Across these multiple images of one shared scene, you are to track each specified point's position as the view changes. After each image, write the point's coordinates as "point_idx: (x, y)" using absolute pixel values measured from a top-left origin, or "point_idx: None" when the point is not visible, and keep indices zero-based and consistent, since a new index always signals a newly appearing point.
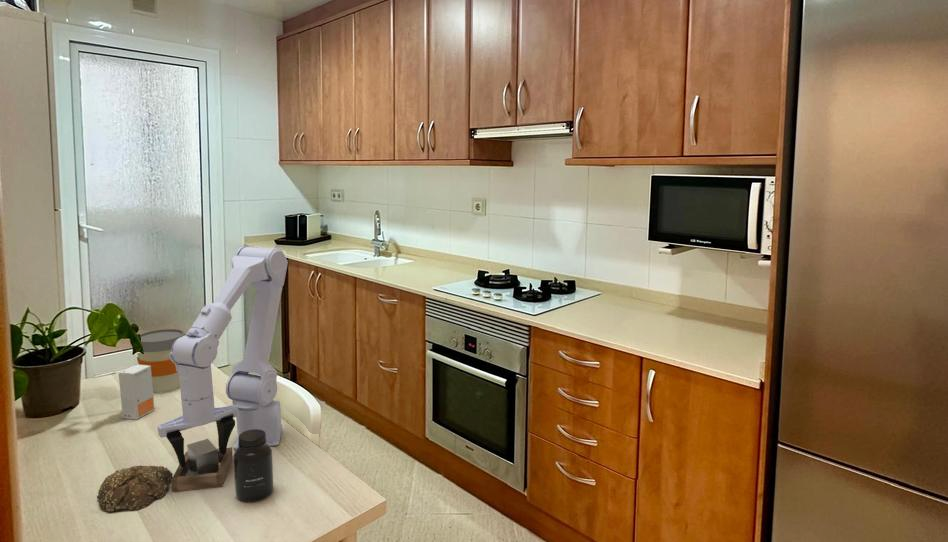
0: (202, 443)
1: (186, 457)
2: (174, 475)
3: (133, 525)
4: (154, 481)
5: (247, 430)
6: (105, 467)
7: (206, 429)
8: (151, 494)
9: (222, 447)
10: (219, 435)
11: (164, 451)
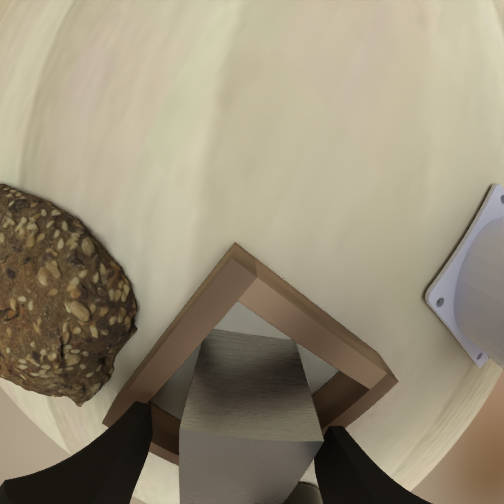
0: (263, 465)
1: (201, 326)
2: (114, 412)
3: (42, 417)
4: (55, 388)
5: (495, 351)
6: (35, 51)
7: (428, 30)
8: (58, 396)
9: (320, 481)
10: (351, 496)
11: (216, 42)
